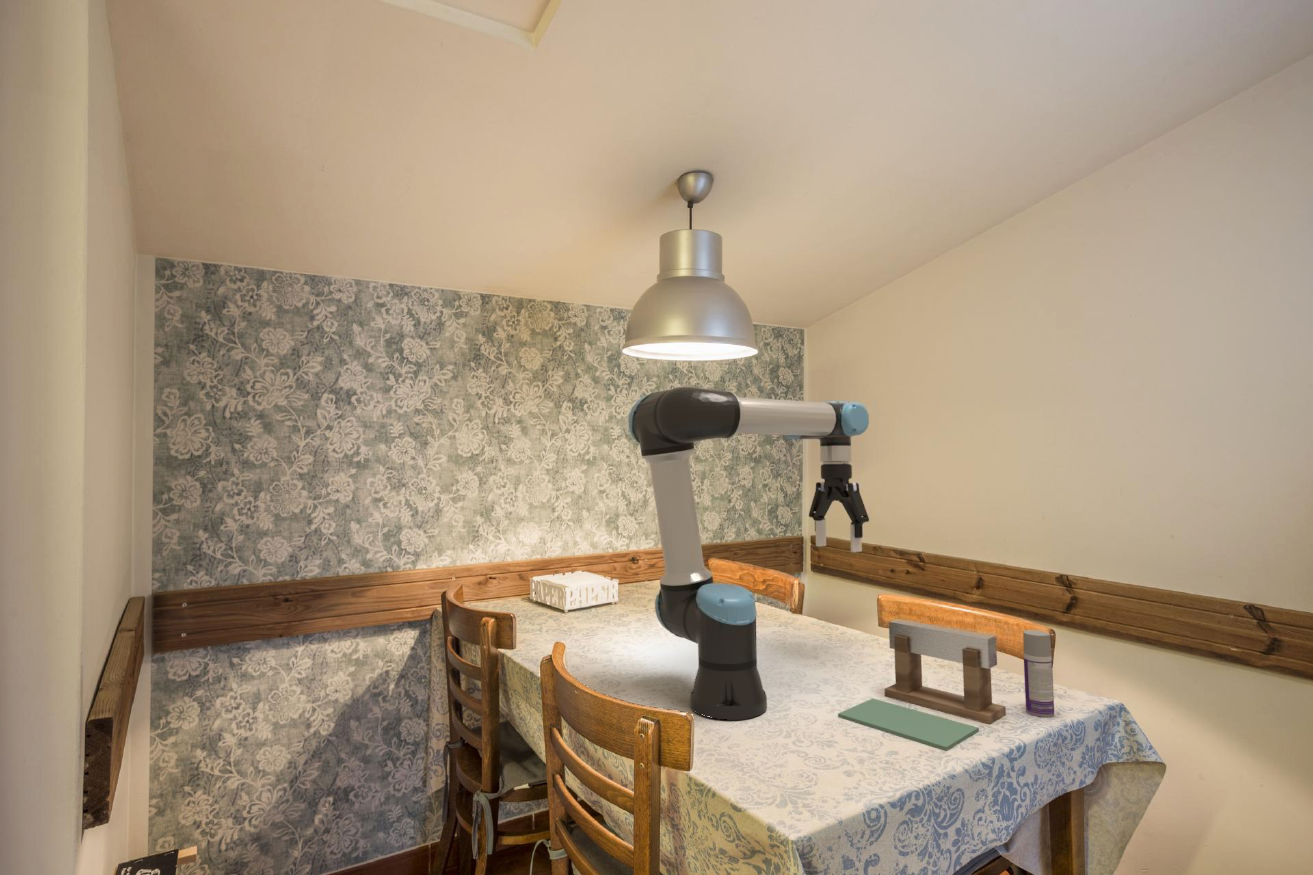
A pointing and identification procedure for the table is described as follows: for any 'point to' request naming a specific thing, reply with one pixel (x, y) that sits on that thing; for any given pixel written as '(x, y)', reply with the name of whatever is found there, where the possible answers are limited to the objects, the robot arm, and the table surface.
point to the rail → (944, 641)
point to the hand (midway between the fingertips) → (838, 548)
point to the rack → (968, 706)
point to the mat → (909, 723)
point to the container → (1038, 673)
